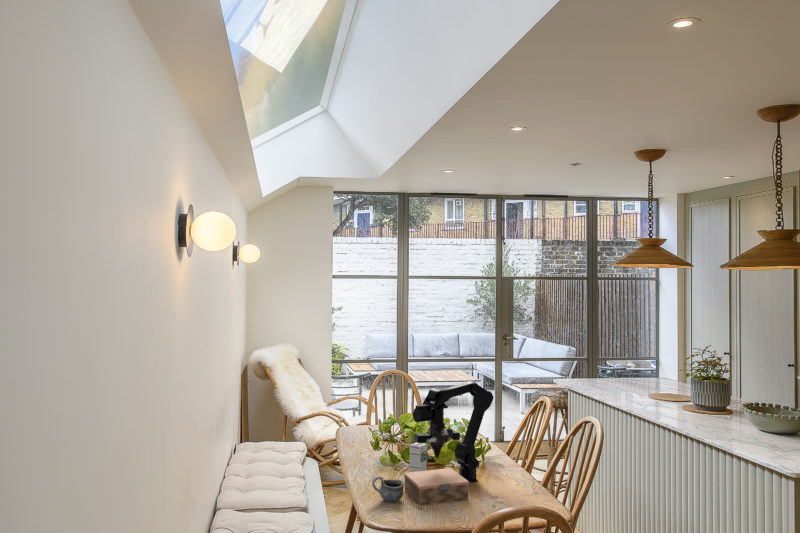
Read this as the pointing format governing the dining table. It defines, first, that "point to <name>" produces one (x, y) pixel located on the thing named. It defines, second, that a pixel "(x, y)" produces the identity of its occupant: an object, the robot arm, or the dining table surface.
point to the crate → (436, 493)
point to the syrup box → (418, 457)
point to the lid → (436, 479)
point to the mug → (390, 489)
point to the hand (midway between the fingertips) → (436, 457)
